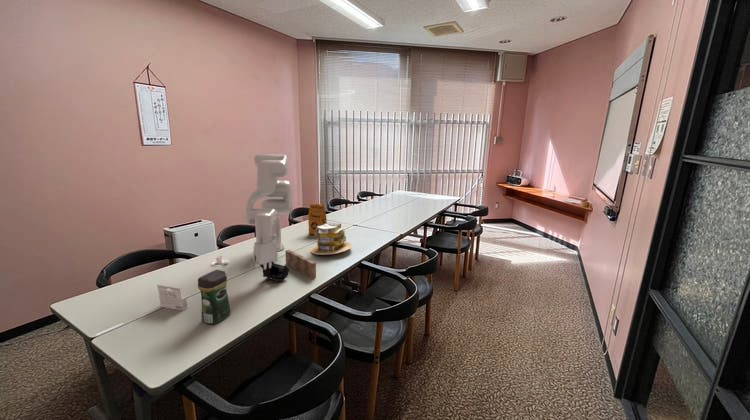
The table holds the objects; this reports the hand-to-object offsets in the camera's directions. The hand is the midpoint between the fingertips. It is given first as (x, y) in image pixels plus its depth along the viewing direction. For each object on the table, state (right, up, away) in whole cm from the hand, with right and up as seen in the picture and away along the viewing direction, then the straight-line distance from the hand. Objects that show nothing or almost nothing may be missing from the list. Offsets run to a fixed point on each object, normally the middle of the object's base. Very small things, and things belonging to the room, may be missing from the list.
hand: (266, 275), depth 146 cm
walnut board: (+12, 0, +15) cm, 19 cm away
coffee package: (+11, +14, +73) cm, 75 cm away
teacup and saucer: (-32, +1, +18) cm, 36 cm away
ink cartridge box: (-30, -8, -22) cm, 38 cm away
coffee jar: (-10, -10, -27) cm, 31 cm away
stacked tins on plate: (+25, +6, +44) cm, 50 cm away
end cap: (+2, -2, +4) cm, 5 cm away
